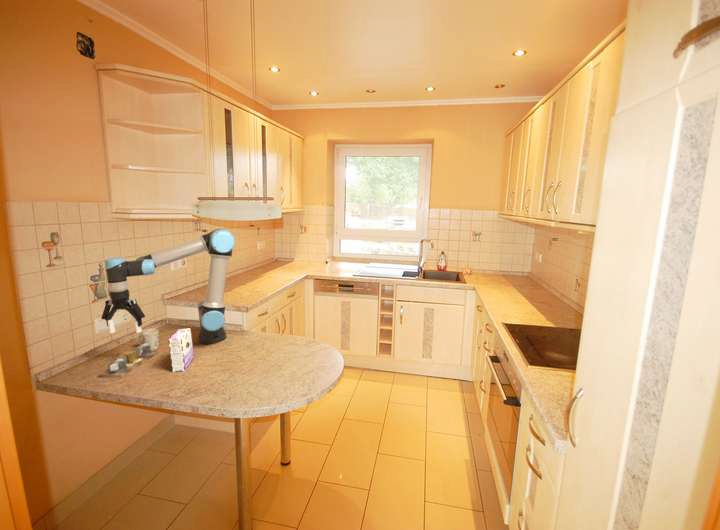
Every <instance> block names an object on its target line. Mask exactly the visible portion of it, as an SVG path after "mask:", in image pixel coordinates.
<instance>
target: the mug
mask: <svg viewBox="0 0 720 530" xmlns="http://www.w3.org/2000/svg"><path fill="white" fill-rule="evenodd" d="M140 337H141V339H142V341H143V343H142V342H141V341H140ZM159 340H160V329H159V328H149V329H144V330H142V331H141V332H140V333H138V334H137V336H136V342H137V344H138V345H139V346H141V345H143V344H144V343H149V346H150V348H151V351H155V350H157V349H159V347H160V346H159V345H160V344H159V343H160V341H159Z"/></svg>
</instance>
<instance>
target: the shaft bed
mask: <svg viewBox="0 0 720 530" xmlns="http://www.w3.org/2000/svg"><path fill="white" fill-rule="evenodd" d="M142 344H143V345H138V346H136V347H132V348H131V350H138V355H139V360H137V361H135V362H134V363H132V364H131V365H127V363H126V356H124V357H119V356H117V357H115V361H111V362H110V363H109V364H108V365H107V368H108V369H106V370H104V371H103V372H100V374H99V373H98V375H97V377H98V378H122V377H124V376H125V375H127V374H128V373H130V372H131V371H133V370H134V369H136V368H138V367H139V366H141V365H142V364H144V363H146V362H147V361H148V360H150V359H151V358H153V357H155V356H156V355H157V354H159V352H158V351H155V350H151V348H150V346H149V343H144V342H143V343H142Z"/></svg>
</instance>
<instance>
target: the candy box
mask: <svg viewBox="0 0 720 530" xmlns="http://www.w3.org/2000/svg"><path fill="white" fill-rule="evenodd" d="M191 330H192V329H191V328H189V327H188V328H179V329H177V331H175V332H174V333H173V335H171V336H170V338H169V339H168V346H169V354H170V362H171V363H170V364H171V371H172V373H178V372H185V371H187V369H188V368H189V366H190V365H191V363H192V362H193V360H194V359H195V356H194V355H195V354H194V353H195V352H194V347H193V346H194V345H193V338H192V331H191Z"/></svg>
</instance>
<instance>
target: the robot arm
mask: <svg viewBox="0 0 720 530" xmlns="http://www.w3.org/2000/svg"><path fill="white" fill-rule="evenodd" d="M235 244H236V241H235V237H234V235H233V234H232V232H230V231H228V230H226V229H222V228H219V229H218V228H217V229H214V230H212V231H210V232H208V233H205V234H203V235H200V237H199V238H195V239H193V240H190V241H187V242H184V243H181V244H178V245H175V246H171V247H168V248H164V249H161V250H160V251H159V250H158V251H155V252H153V253H150V254H147V255H143V256H139V257H137V258H136V259H135V260H128V261H127V260H125V258H124V257H110V258H107V259H105V260H104V265H105V273H106V278H107V279H106V280H107V287H108V291H109V299H107V300H105V301H104V303H105V305H104V308H103V312H102V315H101V320H105V322H106V326H107V327H108V333H109V334H114V333H116V327H115V322H114V318H113V317H114V315H115V314H116V313H117V311H118V310H125V311H127V312H128V313H129V314H130V315H131V316H132V317H133V318H134V325H135V332H136V334H140V333H141V332H142V331H143V330H142V326H143V322H142V319H144V318H146V314H145V313H144V312H143V311H142V309H141V307H140V306H139V304H138V302H137V298H134V299H130V290H129V283H128V278H130V277H140V276H149V275H154V274H155V273H156V268H159V267H162V266H164V265H167V264H171V263H175V262H177V261H179V260H182V259H183V260H184V259H185V258H188V257H191V256H194V255H197V254H201V253H204V252H208V256H209V257H210V263H209V271H208V280H207V287H206V288H207V289H206V295H205V300H204V301H200V302H198V304H197V309H198V319H199V327H200V329H199V332H198V339H197V340H198V343H200V344H202V345H211V344H216V342H217V343H220V342H222V341H221V340H223V339H224V340H225V338H226V339H227V332H226V330H225V328H224V325H225V322H226V317H225V312H226V304H225V303H224V294H225V288H226V282H227V281H226V280H227V273H228V263H229V259H230V258H231V257H232V256H233V249H234V248H235ZM224 340H223V341H224ZM219 341H220V342H219Z"/></svg>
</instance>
